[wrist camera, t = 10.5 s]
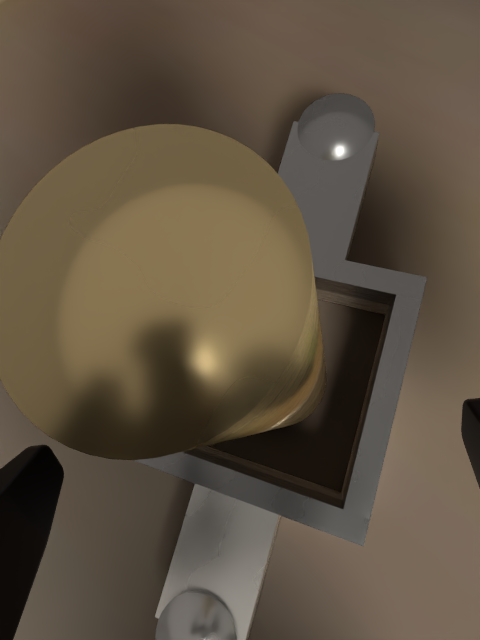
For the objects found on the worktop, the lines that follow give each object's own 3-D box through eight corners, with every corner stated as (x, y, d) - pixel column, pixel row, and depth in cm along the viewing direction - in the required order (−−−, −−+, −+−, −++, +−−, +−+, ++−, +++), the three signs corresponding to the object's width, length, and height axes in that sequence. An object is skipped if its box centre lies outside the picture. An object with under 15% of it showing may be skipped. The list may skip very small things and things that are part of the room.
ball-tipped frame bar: (311, 712, 15) (307, 784, 12) (97, 608, 17) (49, 647, 14) (445, 156, 18) (467, 107, 15) (251, 130, 20) (238, 82, 17)
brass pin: (336, 417, 17) (352, 424, 4) (237, 435, 17) (-12, 487, 5) (314, 318, 18) (273, 83, 5) (221, 339, 18) (-18, 173, 6)
